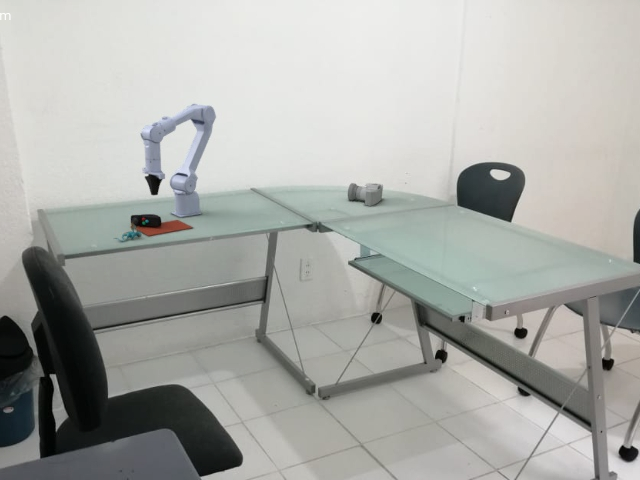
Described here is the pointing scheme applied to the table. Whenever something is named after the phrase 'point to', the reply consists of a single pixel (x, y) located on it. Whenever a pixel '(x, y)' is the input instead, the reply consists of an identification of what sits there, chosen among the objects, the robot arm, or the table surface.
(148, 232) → the mat
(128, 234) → the dragon figurine
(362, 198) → the digital camera
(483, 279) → the table surface
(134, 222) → the controller
